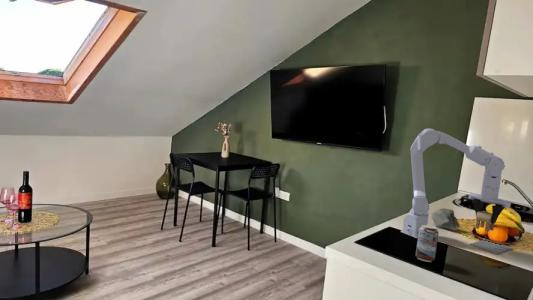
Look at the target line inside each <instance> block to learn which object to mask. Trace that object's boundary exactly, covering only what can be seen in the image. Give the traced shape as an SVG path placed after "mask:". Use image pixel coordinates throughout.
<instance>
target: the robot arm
mask: <svg viewBox="0 0 533 300" xmlns="http://www.w3.org/2000/svg"><path fill="white" fill-rule="evenodd" d="M436 143H437V144H440V145H447V146H450V147H451V148H454V149H456V150H458V151H460V152H462V153H463V154H464V155H465V158H466V159H468V160H469V161H471V162H474V163H476V164H477V165H479V166H481V167H484V173H483V179H482V183H481V184H482V185H481V192H480V194H476V193H471V192H470V193H468V197H467V198H468V199H470V200H472V201H471V204H472V206H473V208H474V212H475V216H476V215H477V212H480V211H483V208H484V204H485V203H487V204H492V205H491V209H492V212H491V213H492V219H491V223H493V224H494V223H495V224H496V222H497V220H498V218H499V216H500V215H501V213H502V212H503V210H504V209H505V208H506V209H509V208H511V205H512V202H510V201H506V200H503V199H500V198H499V193H500V187H501V179H502V173H503V172H502V171H503V170H504V169H505V167H506V165H505V162H504V160H503V158H501V157H499V156H497V155H495V153H494V152H489V151H487V150H485V149H483V147H482V146H480V145H479V144H478V145H475V144H473V145H468V144H466V143H464V142H463V141H460V140H458V139H457V138H456V137H453V136H451V135H449V134H448V133H445V132H442V131H438V130H435V129H433V128H429V127H428V128H425V129H423V130H422V131H421V132H419V133H418V135H417V137H415V139H414V141H413V142H412V145H411V146H410V148H409V149H410V160H411V174H412V175H411V176H412V188H413V190H412V191H413V198H412V202H411V205H412V206H411V207H412V208H411V209H409V213H408V214H407V215H405V216H404V219H403V224H402V225H403V226H402V229H401V230H400V233H403V234H405V235H408V236H410V237H413V238H415V239H418V235H419V229H420V227H421V226H422V225H427V226H428V222H429V214H430V213H429V210H430V205H429V200H428V199H427V195H426V184H425V183H426V182H425V172H424V158H423V156H424V155H423V153H424V152H425V151H426V150H427V149H428V148H429V147H431V146H433V145H435V144H436ZM491 223H490V224H491ZM495 224H494V225H495Z"/></svg>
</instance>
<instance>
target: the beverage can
mask: <svg viewBox="0 0 533 300" xmlns="http://www.w3.org/2000/svg"><path fill="white" fill-rule="evenodd" d="M439 235H440V234H439V229H438V227H437V226H432V225H428V224H427V225H422V226H421V227H420V229H419V235H418V238H417V242H416V248H415V249H416V250H415V257H416V258H417V260H420V261H422V262H427V263H432V262H433V261H435V260H436V259H435V258H436V253H437V245H438V239H439Z"/></svg>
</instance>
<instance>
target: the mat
mask: <svg viewBox="0 0 533 300" xmlns="http://www.w3.org/2000/svg"><path fill="white" fill-rule="evenodd" d="M484 240H485V239H482V240H481V239H480V240H479V241H475V242H472V243H469V246H471V247H474V248H477V249H479V250H483V251H486V252H489V253H491V254H494V255H496V256H497V255H499V254H502V253H506V252H509V251H511V250H513V247H512V246H507V245H504V244H502V245H499V244H500V243H499V244H495V243H492V242H488V241H484Z"/></svg>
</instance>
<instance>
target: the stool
mask: <svg viewBox="0 0 533 300" xmlns="http://www.w3.org/2000/svg"><path fill="white" fill-rule="evenodd" d="M491 219H492V212H489V211H485V210H482V211H480V212H477V215H476V214H475V220H476V221H475V227H474V228H475V229H476V230H477V229H478V230H479V229H480V228H484V232H487V233H490V231H494V228H495V224H496V223H494V224H493V223H491Z"/></svg>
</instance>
